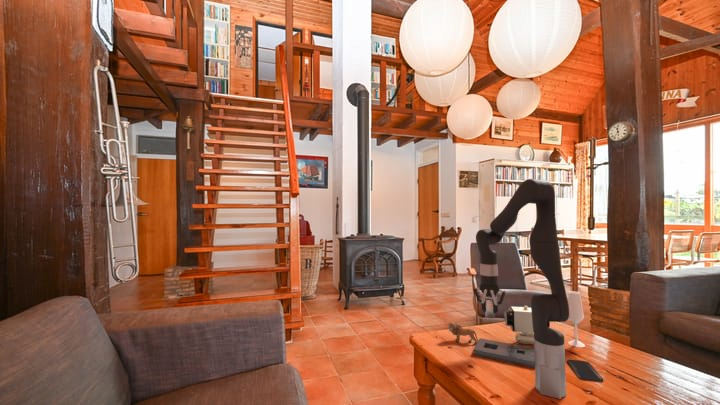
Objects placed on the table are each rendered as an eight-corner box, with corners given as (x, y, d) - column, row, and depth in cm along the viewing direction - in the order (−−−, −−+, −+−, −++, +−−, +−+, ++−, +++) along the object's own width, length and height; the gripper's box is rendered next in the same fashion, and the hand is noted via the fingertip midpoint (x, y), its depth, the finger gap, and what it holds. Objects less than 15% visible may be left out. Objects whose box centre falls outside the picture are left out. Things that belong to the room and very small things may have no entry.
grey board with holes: (536, 368, 126) (536, 362, 126) (473, 355, 139) (473, 349, 139) (537, 354, 138) (537, 348, 138) (479, 343, 151) (479, 338, 151)
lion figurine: (448, 342, 152) (448, 323, 153) (448, 338, 157) (447, 320, 158) (481, 345, 149) (480, 326, 149) (479, 340, 154) (479, 322, 154)
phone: (587, 361, 130) (604, 380, 116) (587, 364, 130) (604, 383, 116) (565, 359, 132) (579, 377, 118) (565, 361, 132) (579, 380, 118)
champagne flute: (567, 340, 153) (565, 290, 153) (583, 342, 150) (582, 291, 150) (568, 345, 147) (566, 293, 148) (586, 348, 144) (584, 294, 144)
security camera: (545, 341, 152) (543, 303, 153) (550, 348, 144) (549, 309, 144) (504, 338, 157) (503, 301, 157) (507, 345, 148) (506, 306, 149)
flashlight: (494, 318, 140) (493, 300, 140) (484, 317, 142) (484, 299, 142) (495, 316, 143) (495, 298, 143) (486, 314, 145) (485, 297, 145)
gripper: (470, 273, 143) (471, 312, 143) (505, 276, 136) (506, 317, 135) (474, 270, 149) (475, 307, 149) (507, 273, 142) (508, 312, 142)
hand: (490, 312), depth 142 cm, fingers closed on flashlight, 4 cm apart
